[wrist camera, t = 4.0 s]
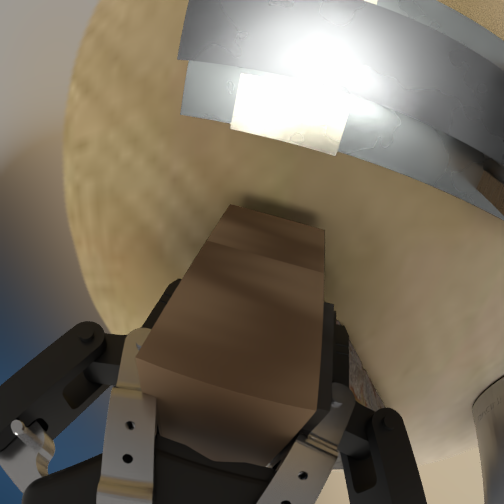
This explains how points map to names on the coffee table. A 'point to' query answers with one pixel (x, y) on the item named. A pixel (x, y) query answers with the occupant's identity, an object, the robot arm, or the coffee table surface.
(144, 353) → the brown wooden block
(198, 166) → the coffee table surface
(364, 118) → the grey and brown stand
